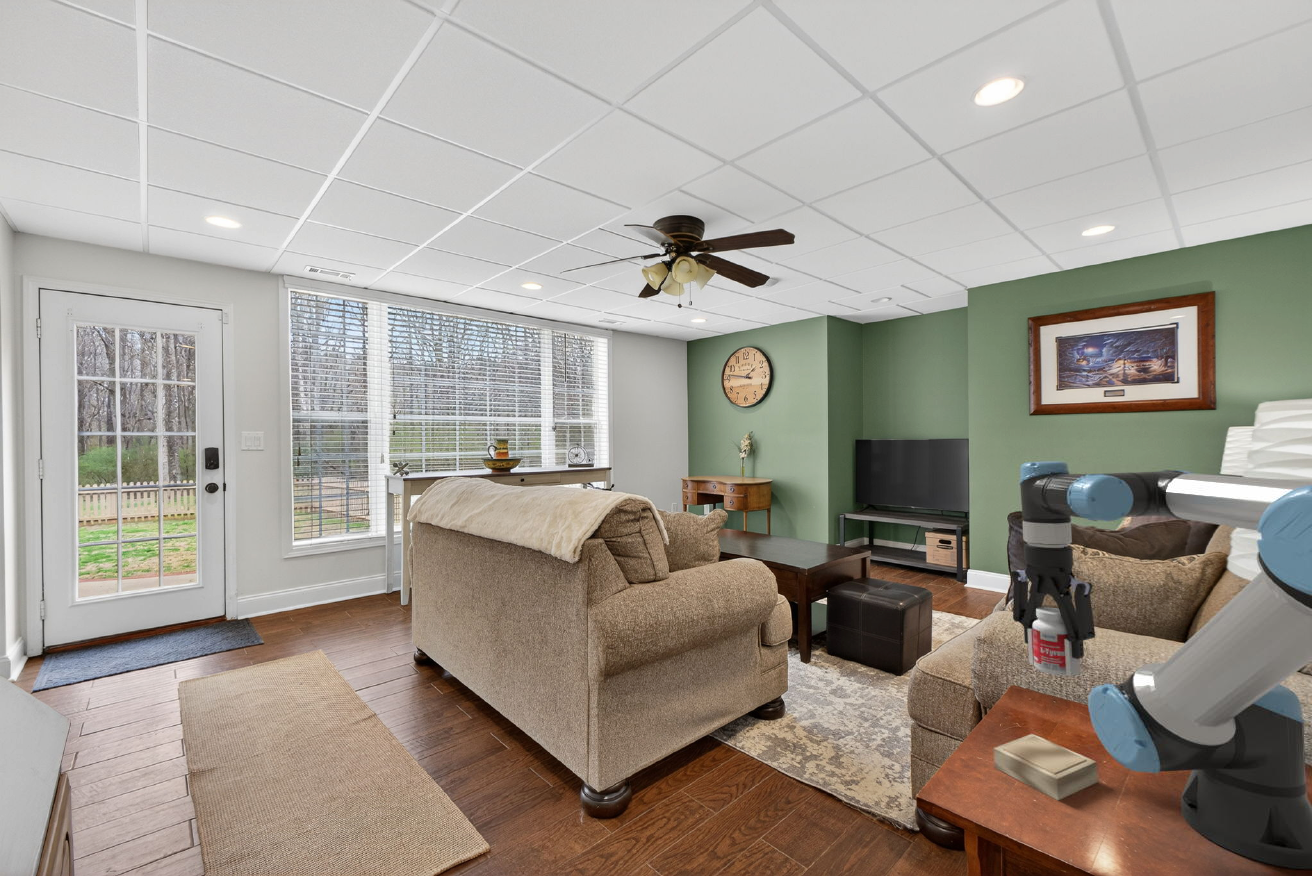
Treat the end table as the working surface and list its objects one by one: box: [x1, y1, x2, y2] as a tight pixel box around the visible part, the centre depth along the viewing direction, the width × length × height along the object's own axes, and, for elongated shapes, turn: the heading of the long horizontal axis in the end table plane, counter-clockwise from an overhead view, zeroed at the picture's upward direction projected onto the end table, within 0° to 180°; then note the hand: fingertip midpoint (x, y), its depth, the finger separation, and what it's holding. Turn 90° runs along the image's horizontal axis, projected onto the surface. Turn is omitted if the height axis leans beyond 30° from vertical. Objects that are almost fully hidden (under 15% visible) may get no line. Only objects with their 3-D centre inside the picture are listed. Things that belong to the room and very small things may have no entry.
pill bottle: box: [1032, 606, 1069, 677], centre depth 106 cm, size 6×6×11 cm
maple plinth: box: [993, 733, 1098, 801], centre depth 101 cm, size 11×11×4 cm
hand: (1054, 668), depth 106 cm, fingers closed on pill bottle, 6 cm apart
